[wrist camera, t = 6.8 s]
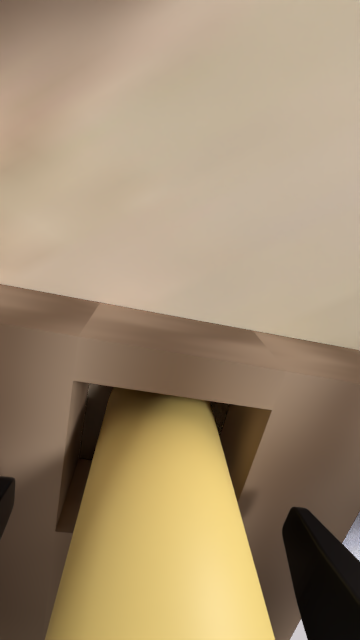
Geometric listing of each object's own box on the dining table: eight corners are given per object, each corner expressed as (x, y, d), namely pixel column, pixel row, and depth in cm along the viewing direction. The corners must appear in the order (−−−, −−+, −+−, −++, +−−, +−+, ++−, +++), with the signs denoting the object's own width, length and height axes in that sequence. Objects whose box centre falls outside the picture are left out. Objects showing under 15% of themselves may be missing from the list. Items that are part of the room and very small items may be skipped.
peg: (220, 373, 11) (340, 678, 4) (196, 456, 13) (253, 808, 5) (115, 356, 11) (21, 671, 3) (101, 444, 12) (8, 818, 5)
